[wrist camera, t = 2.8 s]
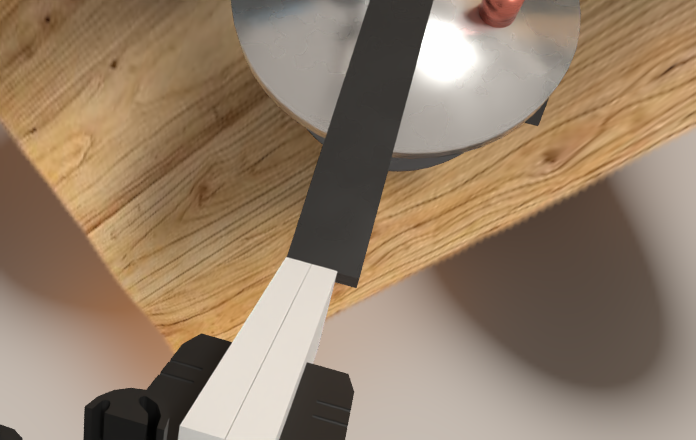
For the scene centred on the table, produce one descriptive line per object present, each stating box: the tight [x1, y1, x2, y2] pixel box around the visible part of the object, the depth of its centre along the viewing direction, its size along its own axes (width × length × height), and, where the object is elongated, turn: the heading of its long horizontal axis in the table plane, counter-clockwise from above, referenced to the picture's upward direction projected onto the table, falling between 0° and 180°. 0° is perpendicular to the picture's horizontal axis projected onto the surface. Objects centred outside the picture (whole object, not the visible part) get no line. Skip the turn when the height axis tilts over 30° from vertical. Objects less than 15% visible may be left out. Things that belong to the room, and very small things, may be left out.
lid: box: [231, 0, 581, 288], centre depth 25 cm, size 19×26×3 cm
